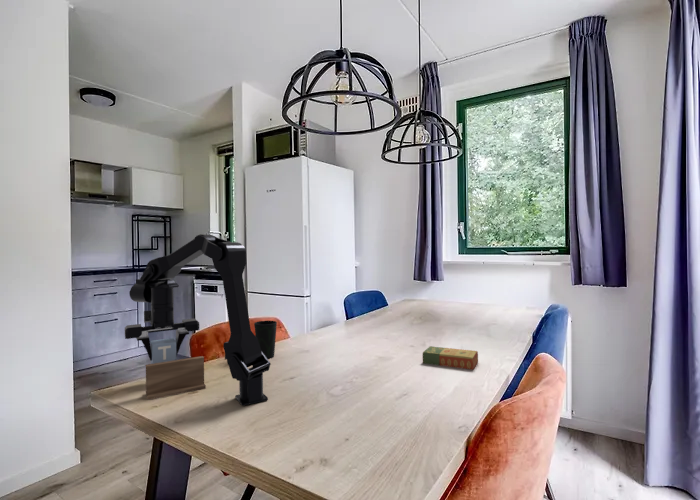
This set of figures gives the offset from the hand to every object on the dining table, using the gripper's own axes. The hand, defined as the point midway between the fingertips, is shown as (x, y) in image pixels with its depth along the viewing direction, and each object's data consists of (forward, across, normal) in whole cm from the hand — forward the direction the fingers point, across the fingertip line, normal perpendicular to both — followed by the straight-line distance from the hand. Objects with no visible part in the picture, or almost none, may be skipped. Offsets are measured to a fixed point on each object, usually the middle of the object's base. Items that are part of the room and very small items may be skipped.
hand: (163, 358), depth 108 cm
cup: (+7, -33, -8) cm, 35 cm away
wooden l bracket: (+7, -2, +9) cm, 12 cm away
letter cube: (+1, 0, 0) cm, 1 cm away
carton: (+8, -80, +34) cm, 87 cm away
